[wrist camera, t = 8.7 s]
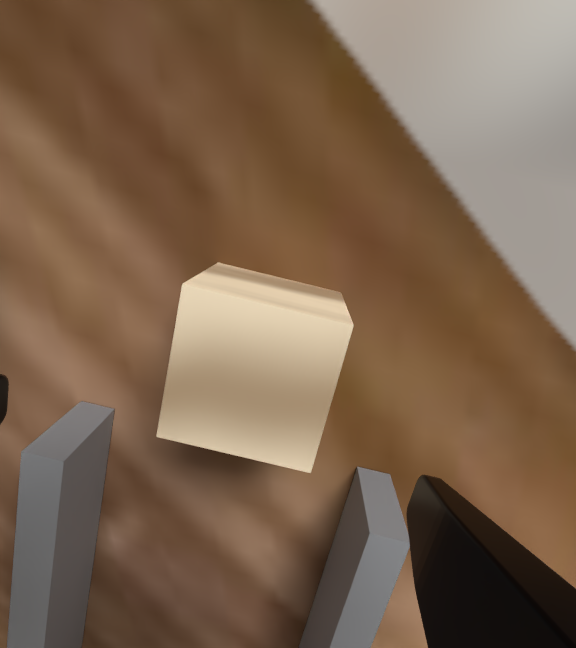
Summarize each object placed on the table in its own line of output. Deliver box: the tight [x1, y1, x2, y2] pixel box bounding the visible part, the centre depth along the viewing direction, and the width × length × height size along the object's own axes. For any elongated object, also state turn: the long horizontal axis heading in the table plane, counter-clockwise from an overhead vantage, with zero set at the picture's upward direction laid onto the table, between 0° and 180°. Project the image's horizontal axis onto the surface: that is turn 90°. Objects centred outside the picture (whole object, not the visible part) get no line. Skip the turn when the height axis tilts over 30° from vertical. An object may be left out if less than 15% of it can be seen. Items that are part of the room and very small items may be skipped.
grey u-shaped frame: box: [7, 401, 410, 648], centre depth 19 cm, size 18×14×4 cm
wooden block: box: [156, 263, 354, 473], centre depth 15 cm, size 5×5×5 cm
